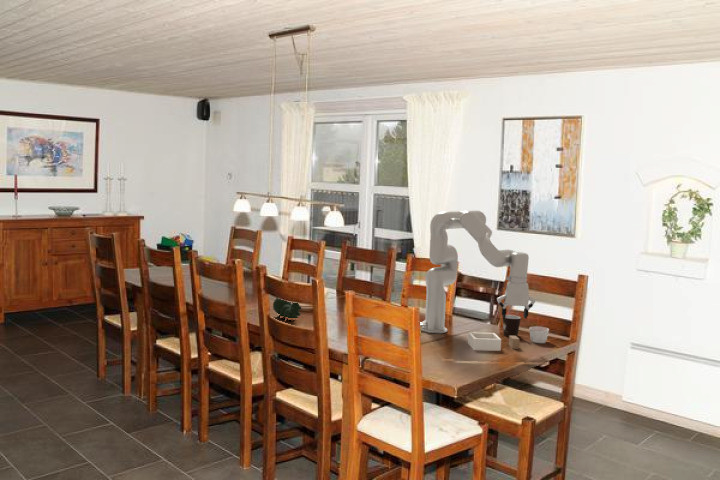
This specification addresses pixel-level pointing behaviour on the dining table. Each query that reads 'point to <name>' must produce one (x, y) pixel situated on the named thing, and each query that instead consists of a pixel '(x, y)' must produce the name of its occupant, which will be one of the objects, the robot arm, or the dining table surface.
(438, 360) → the dining table surface
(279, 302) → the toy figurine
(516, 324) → the coffee mug
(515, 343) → the lid
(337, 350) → the dining table surface
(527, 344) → the dining table surface
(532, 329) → the light grey bowl
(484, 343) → the box
